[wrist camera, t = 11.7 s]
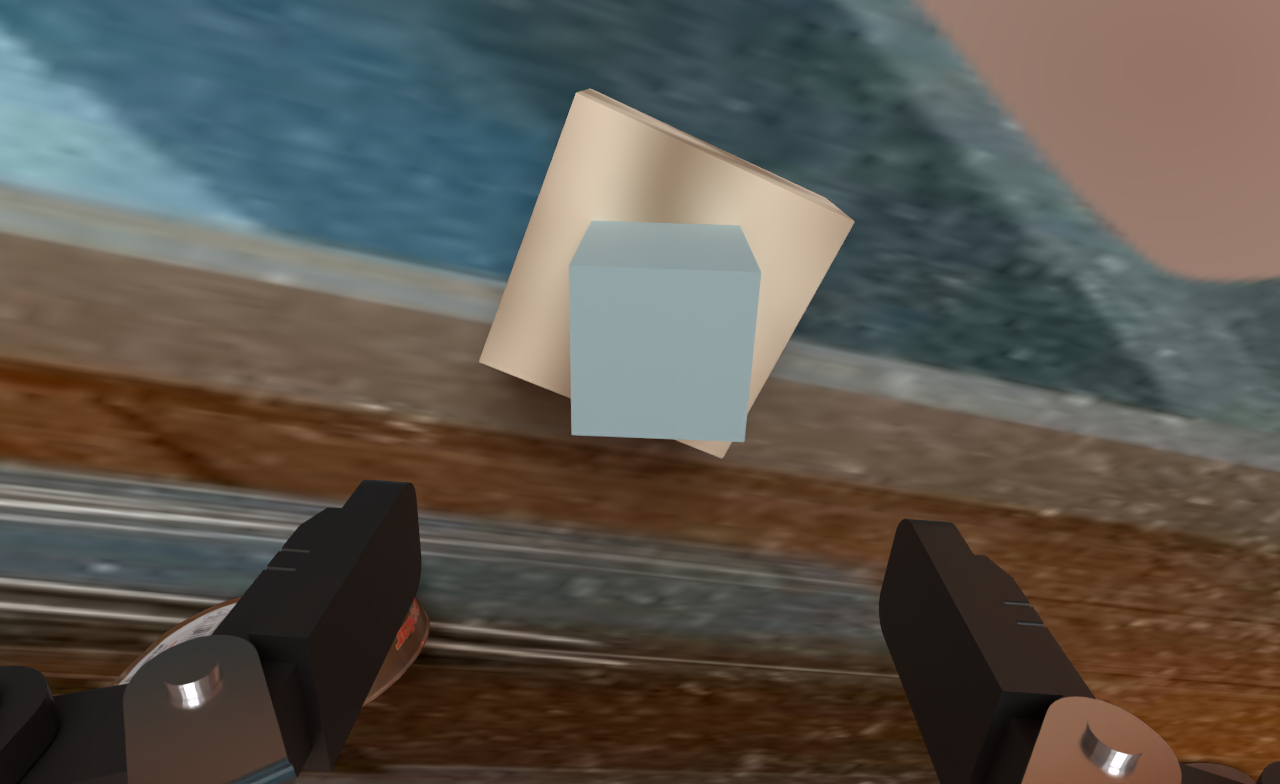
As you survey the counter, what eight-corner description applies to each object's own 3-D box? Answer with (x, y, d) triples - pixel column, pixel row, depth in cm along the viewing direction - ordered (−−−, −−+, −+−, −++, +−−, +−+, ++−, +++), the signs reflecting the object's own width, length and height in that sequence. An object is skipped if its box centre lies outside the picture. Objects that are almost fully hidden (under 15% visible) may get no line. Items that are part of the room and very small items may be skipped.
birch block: (824, 196, 28) (854, 221, 24) (714, 403, 32) (722, 458, 28) (591, 88, 27) (576, 92, 22) (506, 318, 31) (478, 362, 26)
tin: (200, 645, 39) (86, 786, 31) (169, 601, 38) (42, 737, 30) (453, 589, 37) (397, 726, 29) (428, 541, 35) (363, 670, 28)
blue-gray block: (740, 225, 24) (761, 272, 18) (728, 363, 26) (744, 442, 20) (591, 220, 24) (568, 265, 18) (591, 357, 26) (571, 435, 20)
